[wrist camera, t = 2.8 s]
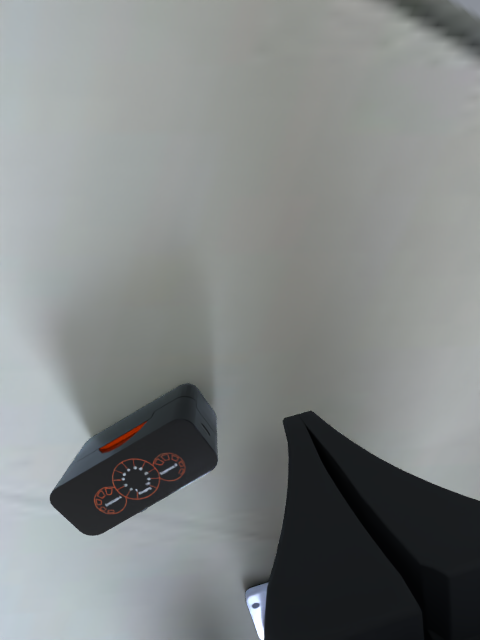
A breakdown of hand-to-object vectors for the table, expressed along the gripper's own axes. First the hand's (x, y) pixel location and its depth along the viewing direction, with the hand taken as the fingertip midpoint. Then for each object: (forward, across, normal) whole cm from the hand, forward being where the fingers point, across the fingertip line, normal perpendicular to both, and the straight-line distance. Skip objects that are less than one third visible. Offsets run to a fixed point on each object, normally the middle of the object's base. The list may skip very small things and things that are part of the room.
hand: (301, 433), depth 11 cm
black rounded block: (+3, +7, 0) cm, 8 cm away
